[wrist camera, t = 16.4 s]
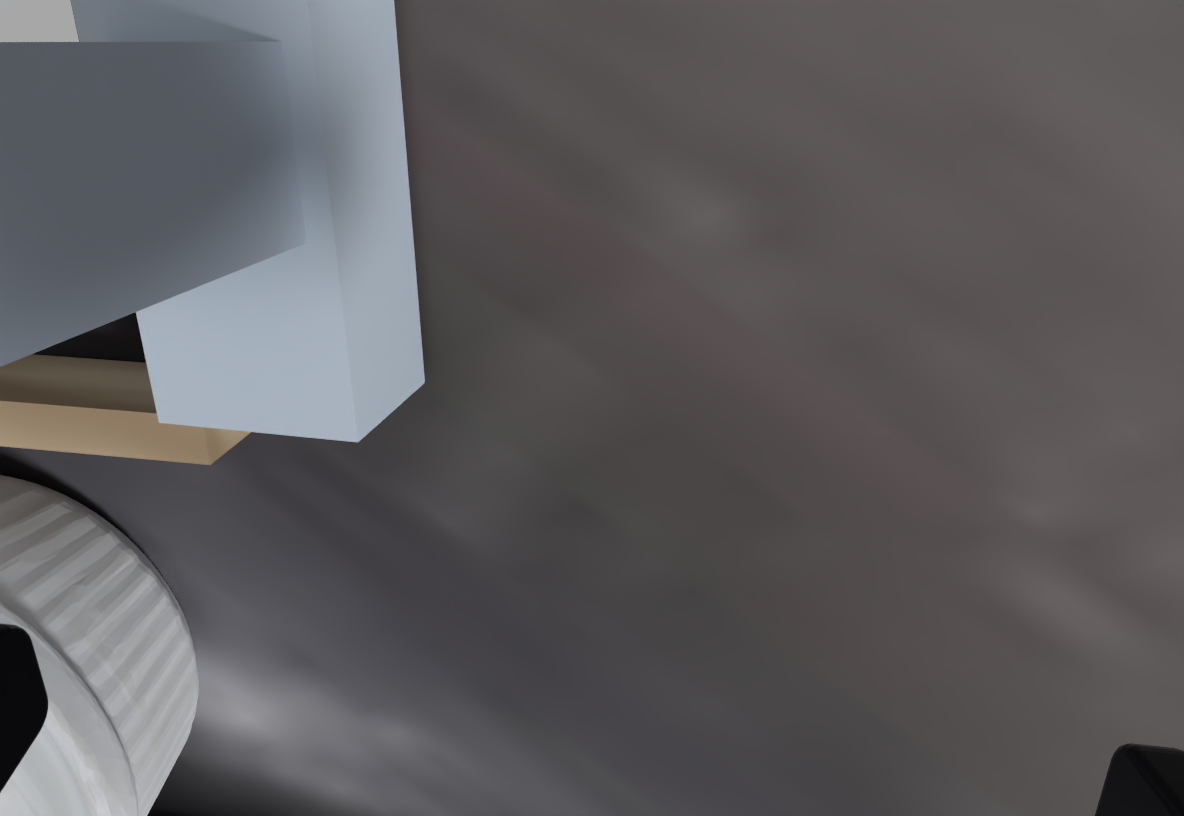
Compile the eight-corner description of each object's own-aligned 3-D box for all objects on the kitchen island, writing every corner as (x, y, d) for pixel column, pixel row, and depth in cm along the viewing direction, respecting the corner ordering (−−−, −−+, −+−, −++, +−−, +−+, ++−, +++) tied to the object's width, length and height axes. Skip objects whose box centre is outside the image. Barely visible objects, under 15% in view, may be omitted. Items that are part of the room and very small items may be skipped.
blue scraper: (378, -192, 14) (-576, -709, 4) (424, 382, 18) (-33, 791, 8) (163, -178, 15) (-1049, -589, 5) (251, 368, 19) (-355, 724, 9)
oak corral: (334, 873, 25) (293, 958, 22) (-122, 804, 27) (-203, 876, 24) (267, 371, 19) (202, 417, 17) (-311, 329, 21) (-440, 364, 19)
